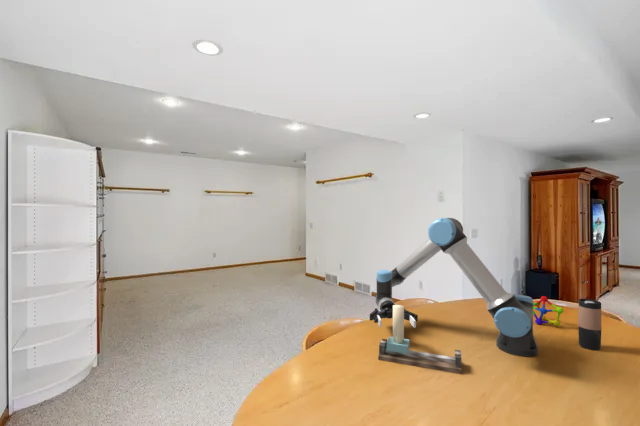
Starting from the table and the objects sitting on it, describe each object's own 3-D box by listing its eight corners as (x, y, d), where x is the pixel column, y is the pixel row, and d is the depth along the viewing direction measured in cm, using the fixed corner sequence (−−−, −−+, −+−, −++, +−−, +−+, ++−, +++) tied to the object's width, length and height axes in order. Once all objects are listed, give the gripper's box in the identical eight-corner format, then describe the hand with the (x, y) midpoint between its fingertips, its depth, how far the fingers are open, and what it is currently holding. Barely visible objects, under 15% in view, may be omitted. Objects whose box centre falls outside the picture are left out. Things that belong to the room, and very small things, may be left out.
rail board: (460, 361, 122) (460, 348, 122) (462, 374, 113) (462, 359, 113) (382, 349, 133) (382, 336, 133) (377, 359, 124) (377, 345, 124)
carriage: (409, 346, 128) (409, 305, 128) (407, 353, 121) (407, 309, 121) (389, 343, 131) (389, 302, 131) (386, 350, 124) (386, 307, 124)
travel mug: (597, 345, 138) (597, 299, 138) (604, 352, 131) (604, 304, 131) (575, 342, 142) (575, 297, 142) (581, 348, 135) (581, 302, 135)
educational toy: (523, 324, 168) (520, 295, 169) (538, 320, 173) (535, 293, 175) (554, 331, 154) (551, 299, 155) (570, 327, 159) (567, 297, 161)
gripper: (414, 316, 147) (429, 333, 125) (361, 315, 147) (366, 332, 126) (414, 300, 147) (429, 315, 125) (361, 299, 147) (366, 314, 126)
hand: (397, 324), depth 126 cm, fingers open, 13 cm apart
